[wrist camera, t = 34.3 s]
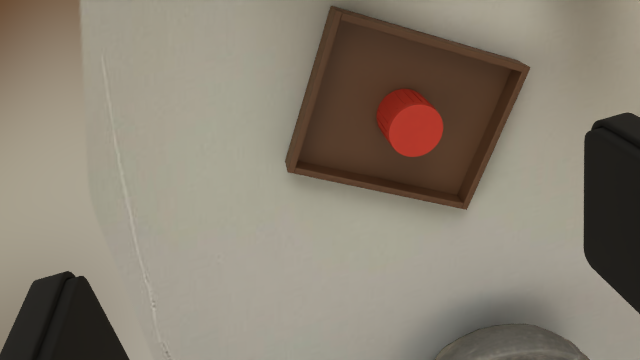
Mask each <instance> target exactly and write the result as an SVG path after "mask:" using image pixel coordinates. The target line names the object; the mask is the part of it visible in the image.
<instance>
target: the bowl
mask: <svg viewBox="0 0 640 360" xmlns="http://www.w3.org/2000/svg"><path fill="white" fill-rule="evenodd" d="M435 360H590V359H589V358H588V357H587V356H586V355H584V354H583V353H582V352H581V351H580V350H579V349H578V348H577V347H576V346H575V345H574V344H573V343H572V342H570V341H569V340H567V339H564V338H563V337H561V336H559V335H557V334H555V333H553V332H551V331H548V330H546V329H543V328H540V327H538V326H534V325H528V324H506V325H497V326H492V327H488V328H484V329H478V330H477V331H475V332H472V333H470V334H467V335H465V336H463V337H461V338H459V339H458V340H456V341H455V342H453V343H451V344H449V345H447V346H446V347H445V348H443V349H442V350H441V352H440V353H439V354H438V356H437V357H436V358H435Z"/></svg>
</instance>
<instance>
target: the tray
mask: <svg viewBox="0 0 640 360" xmlns="http://www.w3.org/2000/svg"><path fill="white" fill-rule="evenodd" d="M529 70H530V67H529V66H527V65H525V64H523V63H521V62H520V61H518V60H514V59H511V58H507V57H504V56H501V55H497V54H494V53H490V52H487V51H483V50H480V49H477V48H473V47H470V46H466V45H463V44H460V43H456V42H453V41H449V40H446V39H443V38H439V37H436V36H432V35H429V34H426V33H422V32H419V31H415V30H412V29H409V28H405V27H402V26H398V25H395V24H391V23H388V22H385V21H381V20H378V19H374V18H371V17H368V16H364V15H361V14H357V13H354V12H351V11H347V10H344V9H340V8H337V7H334V6H331V7H330V11H329V14H328V18H327V21H326V24H325V28H324V31H323V35H322V38H321V41H320V45H319V48H318V52H317V55H316V58H315V62H314V65H313V68H312V72H311V75H310V79H309V82H308V85H307V89H306V92H305V96H304V99H303V102H302V106H301V109H300V113H299V116H298V119H297V123H296V126H295V130H294V133H293V136H292V140H291V143H290V146H289V150H288V153H287V157H286V160H285V162H286V167H287V171H288V172H290V173H295V174H300V175H304V176H309V177H314V178H319V179H323V180H328V181H333V182H338V183H342V184H347V185H352V186H357V187H361V188H366V189H371V190H376V191H380V192H385V193H390V194H395V195H399V196H404V197H409V198H414V199H418V200H423V201H428V202H433V203H437V204H442V205H447V206H452V207H456V208H462V209H466V210H467V208H468V206H469V203H470V201H471V199H472V197H473V195H474V192H475V190H476V188H477V186H478V183H479V181H480V179H481V177H482V174H483V172H484V170H485V168H486V166H487V163H488V161H489V159H490V157H491V154H492V152H493V150H494V148H495V145H496V143H497V141H498V139H499V137H500V134H501V132H502V130H503V128H504V125H505V123H506V121H507V119H508V117H509V114H510V112H511V110H512V108H513V105H514V103H515V101H516V99H517V96H518V94H519V92H520V90H521V88H522V85H523V83H524V81H525V79H526V76H527V74H528V72H529ZM399 89H411V90H414V91H416V92H419V93H420V94H421V95H422V96H423V97H424V98H425V99H426V100H427V101H428V102H429V103H430V104H431V105H432V106H433V107H434V108H435V109H436V111H437V112H438V113H439V114H440V116H441V118H442V121H443V133H442V137H441V139H440V141H439V142H438V144H437V145H436V146H435V147H434V148H433V149H432V150H431V151H430V152H428V153H426V154H424V155H421V156H417V157H408V156H404V155H402V154H400V153H398V152H397V151H396V150H395V149H394V148H393V147H392V146H391V145H390V143H389V142H388V140H387V139H386V138H385V136H384V135H383V133H382V131H381V130H380V128H379V127H378V123H377V119H376V117H377V110H378V107H379V105H380V103H381V101H382V100H383V99H384V98H385V97H386V96H387V95H388V94H389V93H391V92H393V91H395V90H399Z"/></svg>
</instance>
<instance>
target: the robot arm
mask: <svg viewBox="0 0 640 360" xmlns="http://www.w3.org/2000/svg"><path fill="white" fill-rule="evenodd" d="M584 253H585V257H586V259H587V261H588V263H589V264H590V266H591V267H592V268H593V269H594V270H595V271H596V272H597V273H598V274H599V275H600V276H601V277H602V278H603V279H604V280H605V281H606V282H607V283H608V284H609V285H610V286H612V287H613V288H614V289H615V290H616V291H617V292H618V293H619V294H620V295H621V296H622V297H623V298H624V299H625V300H626V301H627V302H628V303H629V304H630V305H631V306H632V307H633V308H634V309H635V310H636V311H637V312H638V313H639V314H640V117H638V116H636V115H634V114H632V113H623V114H619V115H616V116H612V117H609V118H605V119H602V120H598V121H596V122H595V123H594V124H593V126H592V129H591V131H588V132H587V133H586V135H585V141H584ZM0 360H129V358H128V356H127V354H126V352H125V350H124V348H123V346H122V345H121V343H120V341H119V339H118V337H117V335H116V333H115V332H114V329H113V328H112V326H111V324H110V322H109V320H108V318H107V316H106V314H105V312H104V311H103V309H102V307H101V305H100V303H99V301H98V299H97V297H96V296H95V294H94V292H93V290H92V288H91V286H90V284H89V282H88V281H87V279H86V278H85V277H84V276H79V277H75V275H74V274H72V273H71V272H69V271H66V272H63V273H59V274H56V275H53V276H49V277H45V278H42V279H38V280H35V281H34V282H33V283H32V285H31V287H30V289H29V291H28V294H27V296H26V298H25V301H24V302H23V305H22V307H21V309H20V311H19V314H18V316H17V318H16V320H15V323H14V325H13V327H12V329H11V331H10V334H9V336H8V338H7V340H6V343H5V345H4V347H3V349H2V351H1V354H0Z"/></svg>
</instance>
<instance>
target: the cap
mask: <svg viewBox="0 0 640 360" xmlns="http://www.w3.org/2000/svg"><path fill="white" fill-rule="evenodd" d="M376 119H377V123H378V127H379V128H380V130H381V131H382V133H383V135H384V136H385V138H386V139H387V140H388V142H389V143H390V145H391V146H392V147H393V148H394V149H395V150H396V151H397V152H398V153H400V154H402V155H404V156H408V157H417V156H421V155H424V154H426V153H428V152H430V151H431V150H432V149H433V148H434V147H435V146H436V145H437V144H438V142H439V141H440V139H441V137H442V133H443V121H442V118H441V116H440V114H439V113H438V112H437V111H436V109H435V108H434V107H433V106H432V105H431V104H430V103H429V102H428V101H427V100H426V99H425V98H424V97H423V96H422V95H421V94H420V93H419V92H416V91H414V90H411V89H399V90H395V91H393V92H391V93H389V94H388V95H387V96H386V97H385V98H384V99H383V100H382V101H381V103H380V105H379V107H378V110H377V117H376Z"/></svg>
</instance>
